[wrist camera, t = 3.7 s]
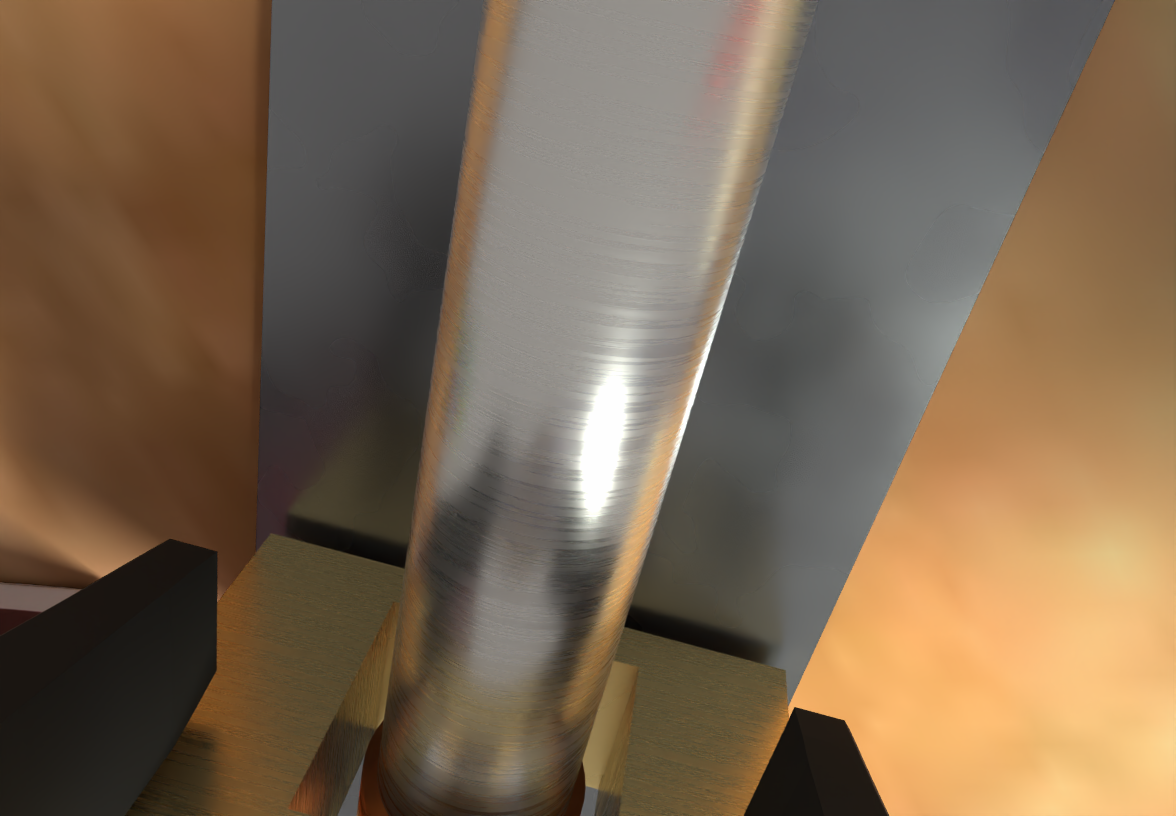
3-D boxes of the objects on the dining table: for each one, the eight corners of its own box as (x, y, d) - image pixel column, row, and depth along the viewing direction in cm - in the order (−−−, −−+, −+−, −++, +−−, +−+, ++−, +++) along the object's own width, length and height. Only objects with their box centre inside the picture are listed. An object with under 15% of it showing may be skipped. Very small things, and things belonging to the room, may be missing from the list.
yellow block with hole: (270, 533, 15) (41, 829, 10) (785, 669, 15) (809, 1042, 10) (266, 660, 16) (64, 972, 11) (733, 786, 16) (731, 1161, 11)
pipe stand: (316, -691, 9) (-143, -1365, 4) (1309, -467, 8) (1974, -928, 4) (259, 782, 19) (115, 1037, 15) (688, 900, 19) (674, 1196, 15)
